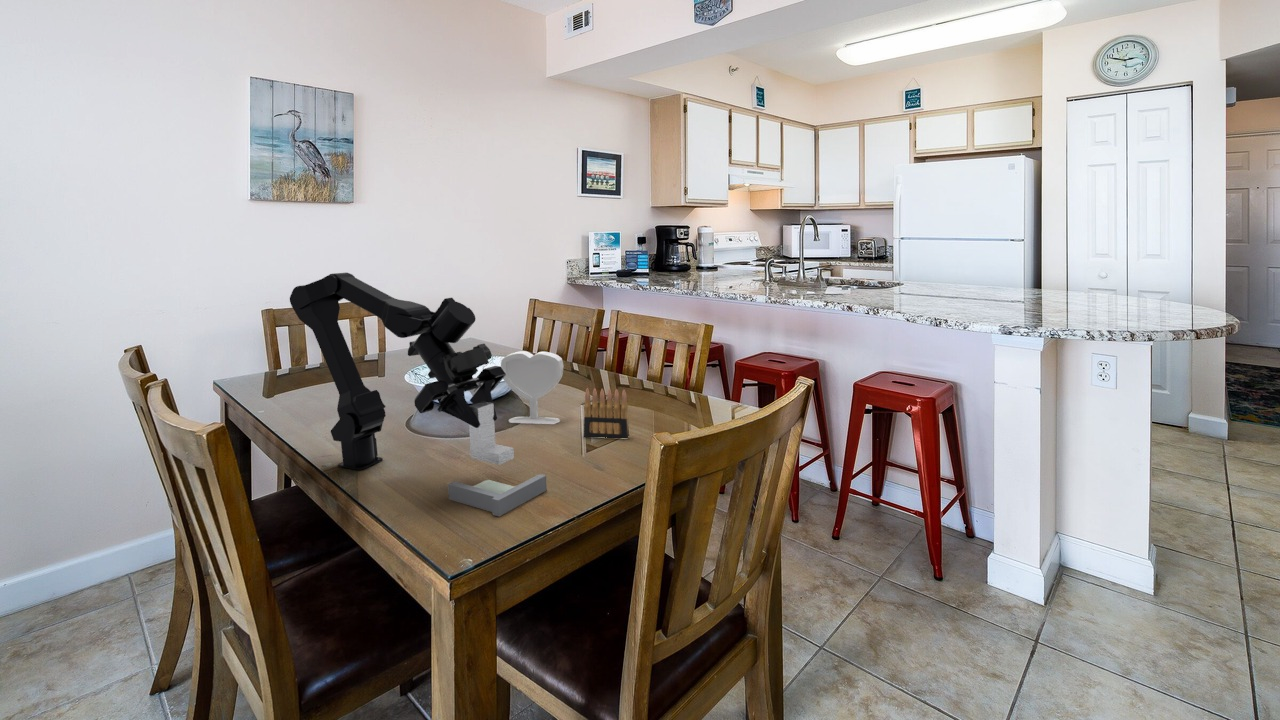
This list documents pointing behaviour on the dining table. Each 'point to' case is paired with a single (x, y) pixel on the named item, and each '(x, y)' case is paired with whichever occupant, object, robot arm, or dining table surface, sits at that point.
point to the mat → (494, 486)
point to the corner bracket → (497, 495)
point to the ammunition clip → (606, 416)
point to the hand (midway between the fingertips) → (487, 423)
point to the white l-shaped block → (487, 437)
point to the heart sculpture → (532, 380)
